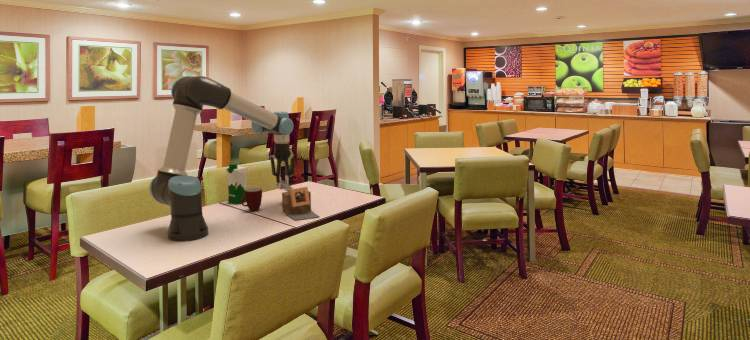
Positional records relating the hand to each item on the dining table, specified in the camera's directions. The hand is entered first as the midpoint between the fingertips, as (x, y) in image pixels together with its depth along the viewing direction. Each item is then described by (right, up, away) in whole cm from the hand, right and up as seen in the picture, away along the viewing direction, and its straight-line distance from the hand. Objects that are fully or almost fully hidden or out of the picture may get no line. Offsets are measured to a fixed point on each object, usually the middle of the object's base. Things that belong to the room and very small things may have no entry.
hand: (283, 188), depth 240 cm
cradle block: (+9, -10, -16) cm, 21 cm away
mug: (-13, -10, -13) cm, 21 cm away
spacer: (+12, -7, -21) cm, 25 cm away
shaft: (+5, -2, -8) cm, 10 cm away
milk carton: (-24, -7, +4) cm, 25 cm away
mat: (+13, -12, -23) cm, 29 cm away
